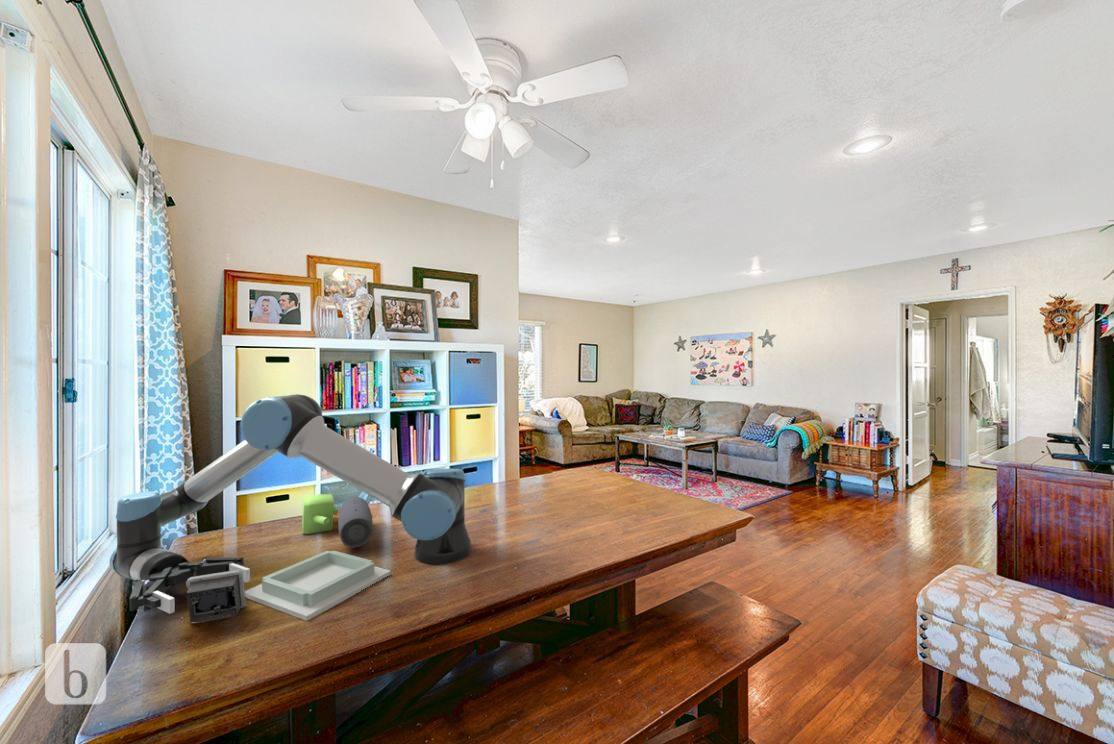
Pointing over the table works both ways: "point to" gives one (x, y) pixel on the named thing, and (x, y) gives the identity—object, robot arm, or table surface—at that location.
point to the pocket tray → (316, 584)
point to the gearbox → (318, 513)
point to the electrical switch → (215, 595)
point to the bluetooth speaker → (355, 522)
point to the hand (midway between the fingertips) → (212, 589)
